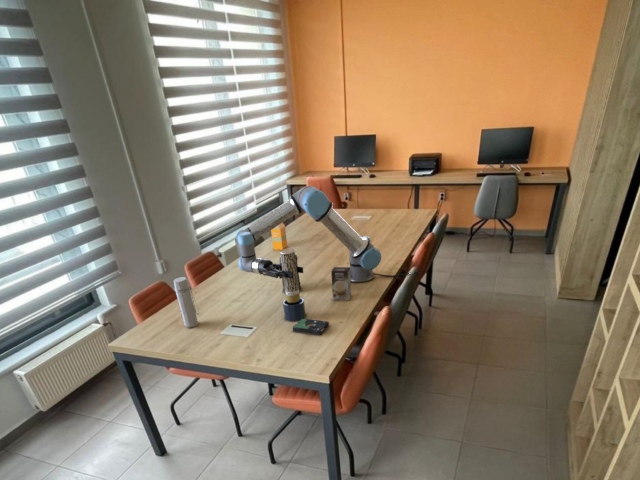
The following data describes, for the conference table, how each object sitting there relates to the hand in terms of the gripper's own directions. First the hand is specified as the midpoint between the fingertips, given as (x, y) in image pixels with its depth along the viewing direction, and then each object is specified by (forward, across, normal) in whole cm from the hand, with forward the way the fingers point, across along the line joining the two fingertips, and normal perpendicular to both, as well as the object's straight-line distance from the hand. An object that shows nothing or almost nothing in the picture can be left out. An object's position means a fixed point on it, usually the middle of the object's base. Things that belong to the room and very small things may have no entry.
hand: (297, 272), depth 215 cm
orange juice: (-95, -88, -24) cm, 132 cm away
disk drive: (+11, +7, -24) cm, 27 cm away
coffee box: (+3, -30, -24) cm, 39 cm away
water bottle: (-49, +32, -24) cm, 63 cm away
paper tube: (-5, 0, -15) cm, 16 cm away
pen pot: (-5, 0, -24) cm, 24 cm away
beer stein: (-32, -30, -24) cm, 50 cm away
